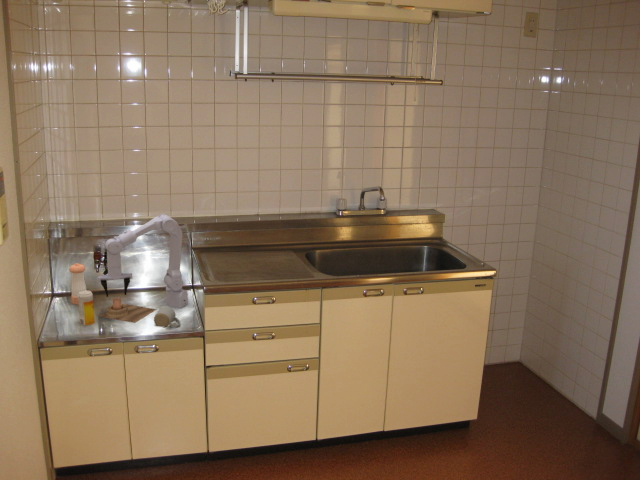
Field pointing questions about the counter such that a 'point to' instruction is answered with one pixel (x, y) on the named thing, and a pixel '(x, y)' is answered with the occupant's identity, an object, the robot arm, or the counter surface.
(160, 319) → the ceramic mug
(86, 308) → the yellow labeled bottle
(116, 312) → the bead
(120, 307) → the peg
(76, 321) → the counter surface
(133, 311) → the board
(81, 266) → the salt shaker
